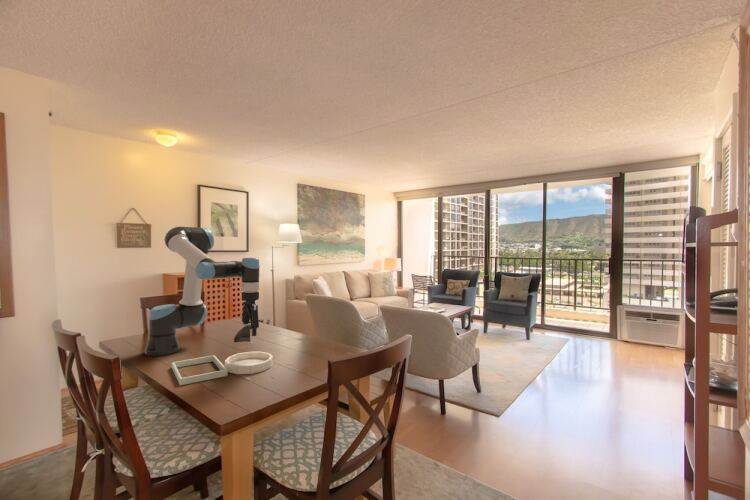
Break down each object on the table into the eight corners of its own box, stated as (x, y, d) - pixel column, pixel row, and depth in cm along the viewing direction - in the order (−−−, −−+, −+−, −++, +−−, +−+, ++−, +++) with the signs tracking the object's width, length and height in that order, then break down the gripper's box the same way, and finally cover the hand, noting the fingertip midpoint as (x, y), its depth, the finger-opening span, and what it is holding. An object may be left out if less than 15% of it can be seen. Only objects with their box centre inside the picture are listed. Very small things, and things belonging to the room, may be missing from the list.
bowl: (220, 363, 159) (220, 356, 158) (263, 356, 171) (263, 349, 171) (232, 377, 143) (232, 369, 143) (278, 367, 155) (278, 360, 155)
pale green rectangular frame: (171, 367, 153) (171, 362, 152) (214, 360, 163) (214, 355, 163) (179, 385, 134) (180, 378, 134) (227, 375, 144) (227, 369, 144)
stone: (239, 353, 150) (257, 337, 151) (227, 338, 151) (244, 323, 152) (248, 350, 160) (264, 335, 161) (236, 336, 161) (253, 321, 162)
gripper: (235, 289, 163) (234, 336, 163) (249, 294, 145) (249, 347, 146) (251, 288, 167) (250, 334, 168) (267, 293, 150) (266, 344, 150)
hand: (249, 340), depth 157 cm, fingers closed on stone, 9 cm apart
